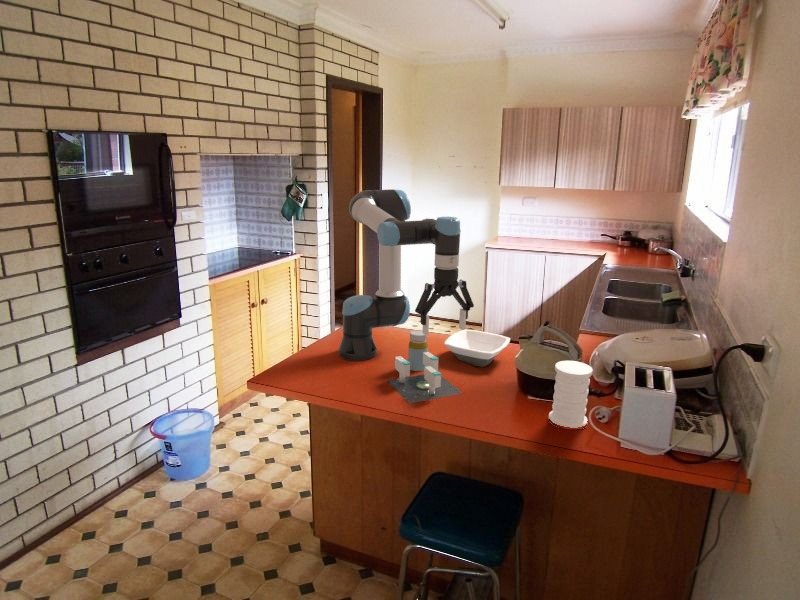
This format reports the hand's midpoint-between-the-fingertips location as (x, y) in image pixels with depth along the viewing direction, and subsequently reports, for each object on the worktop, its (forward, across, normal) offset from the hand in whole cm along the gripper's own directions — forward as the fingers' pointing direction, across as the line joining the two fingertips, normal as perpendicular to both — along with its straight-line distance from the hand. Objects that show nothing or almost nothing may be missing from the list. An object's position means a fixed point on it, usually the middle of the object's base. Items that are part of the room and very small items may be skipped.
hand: (444, 331), depth 179 cm
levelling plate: (+24, -2, +8) cm, 25 cm away
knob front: (+23, -2, +2) cm, 23 cm away
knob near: (+22, -8, +15) cm, 28 cm away
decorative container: (+24, +29, -29) cm, 47 cm away
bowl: (+24, +29, +24) cm, 45 cm away
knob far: (+22, +3, +14) cm, 27 cm away
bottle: (+24, +3, +24) cm, 34 cm away
